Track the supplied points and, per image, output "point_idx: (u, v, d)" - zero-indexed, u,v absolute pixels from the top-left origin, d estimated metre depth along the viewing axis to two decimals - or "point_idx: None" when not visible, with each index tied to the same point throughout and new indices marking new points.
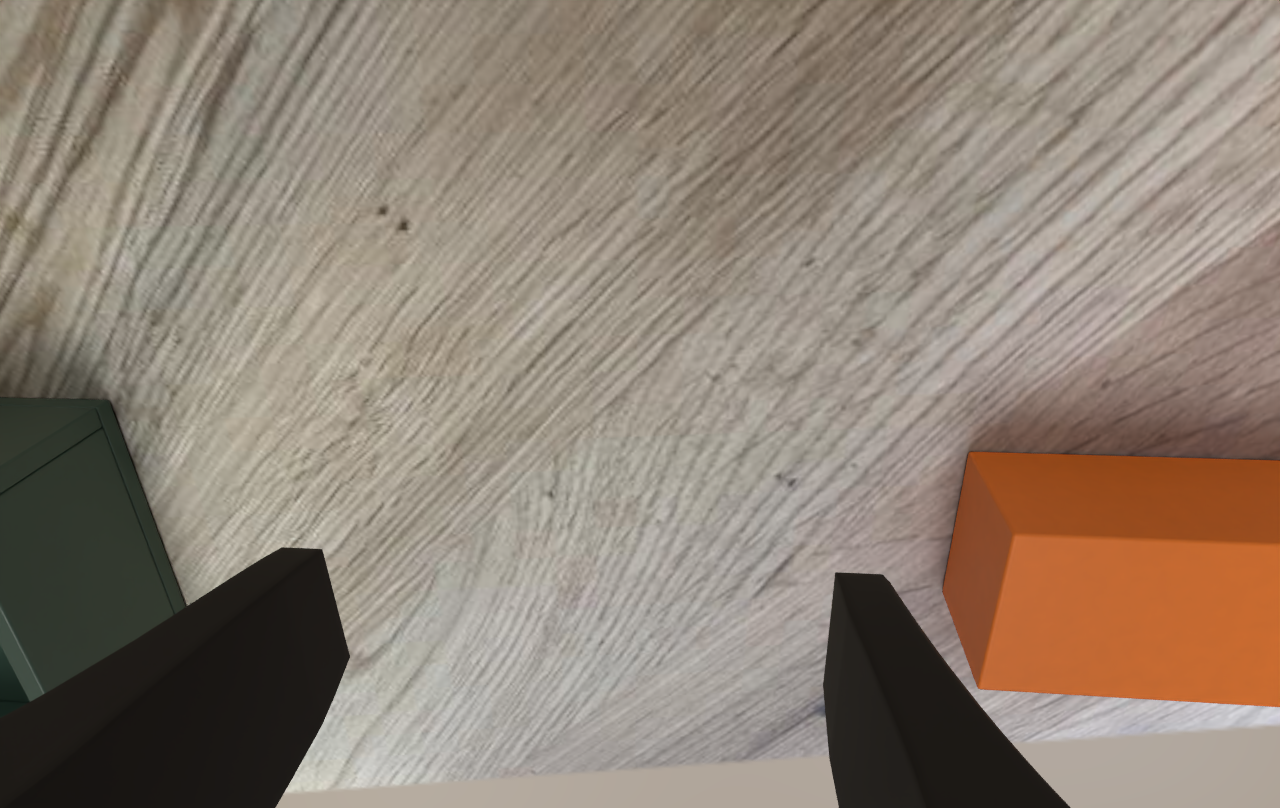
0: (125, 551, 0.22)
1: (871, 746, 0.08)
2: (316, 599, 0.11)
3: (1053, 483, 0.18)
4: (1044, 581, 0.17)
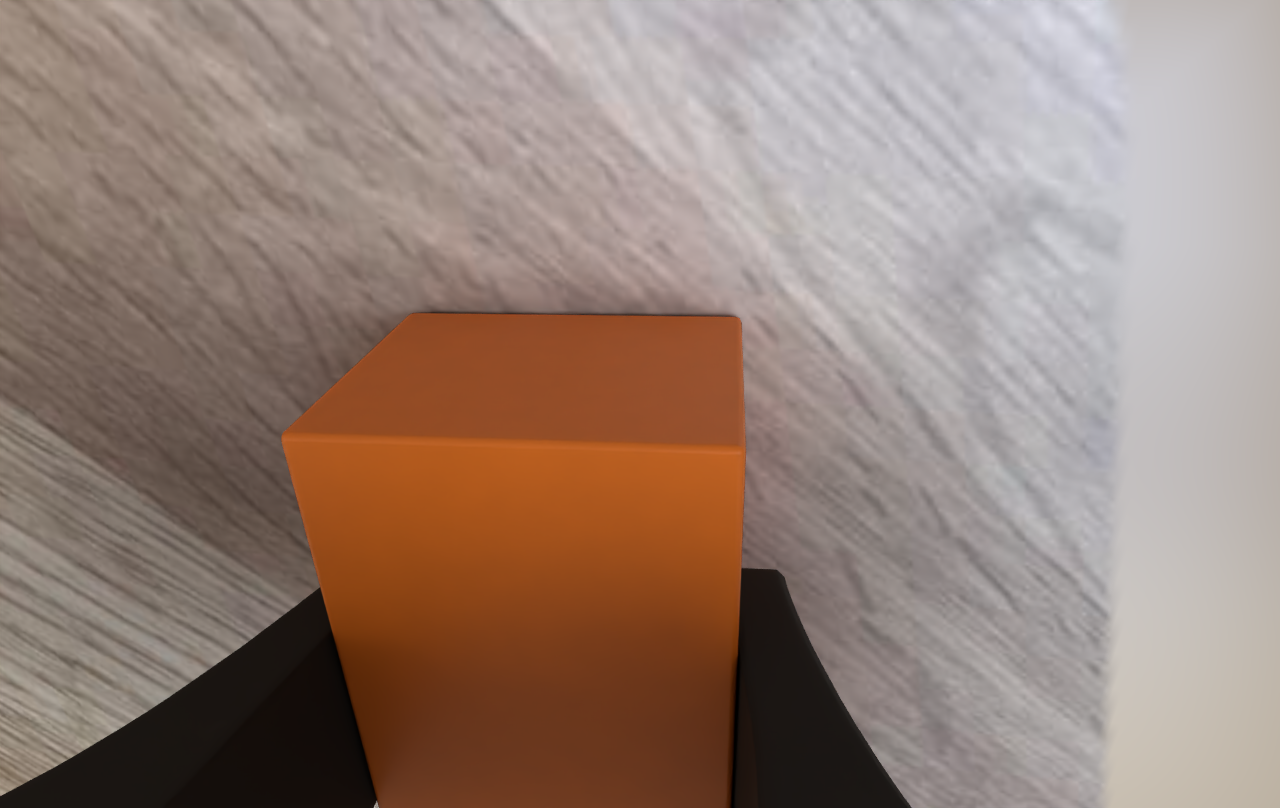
0: None
1: (741, 737, 0.08)
2: None
3: None
4: None
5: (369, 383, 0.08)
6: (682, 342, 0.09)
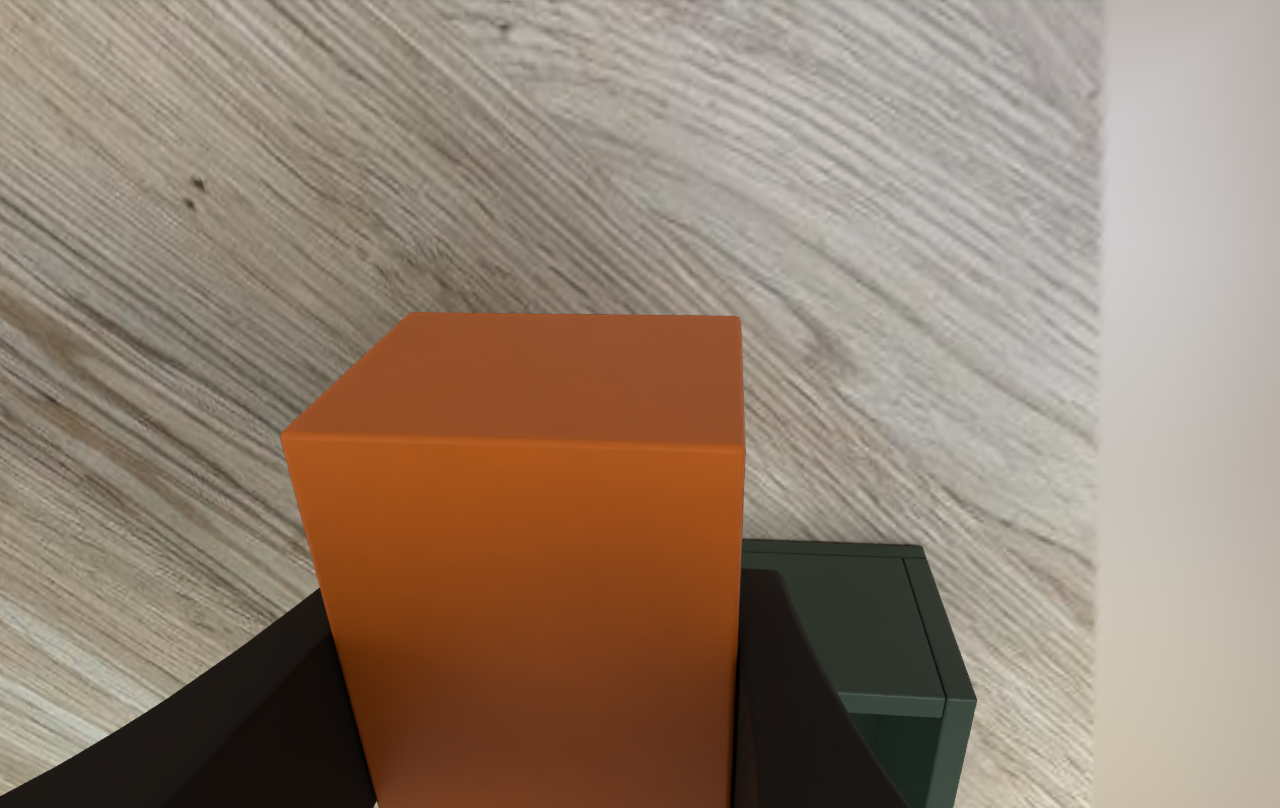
0: None
1: (741, 737, 0.08)
2: None
3: None
4: None
5: (368, 382, 0.08)
6: (681, 341, 0.09)
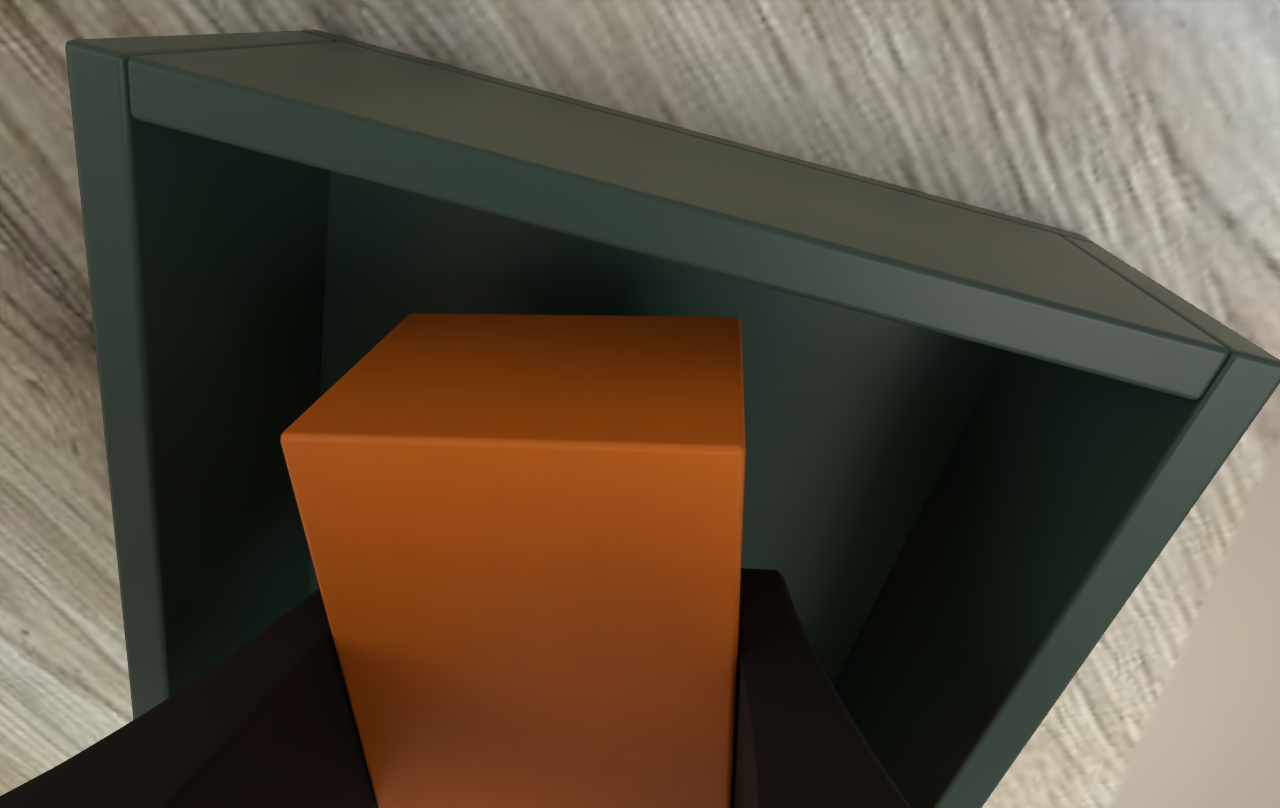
0: (564, 109, 0.11)
1: (741, 737, 0.08)
2: None
3: None
4: None
5: (368, 383, 0.08)
6: (681, 342, 0.09)
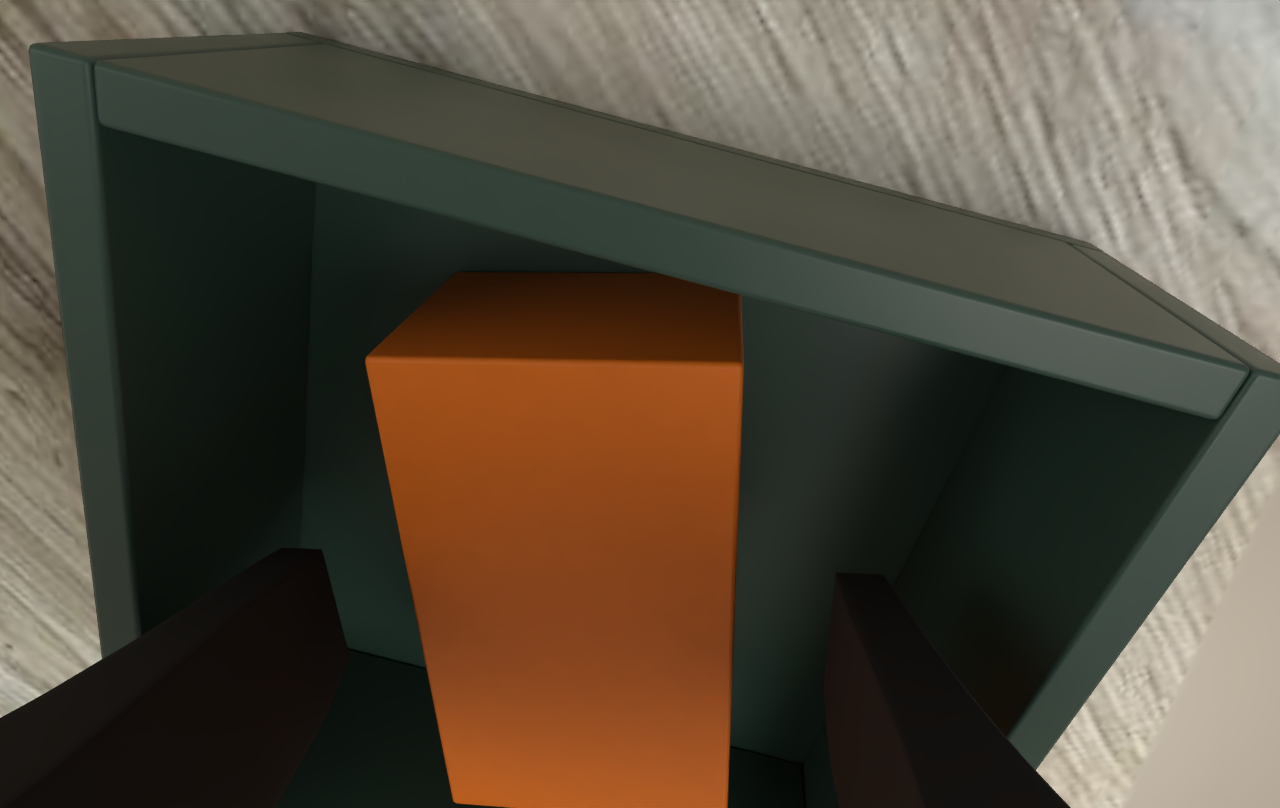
0: (555, 114, 0.10)
1: (871, 746, 0.08)
2: (316, 600, 0.11)
3: None
4: (518, 775, 0.12)
5: (430, 322, 0.10)
6: (689, 291, 0.11)
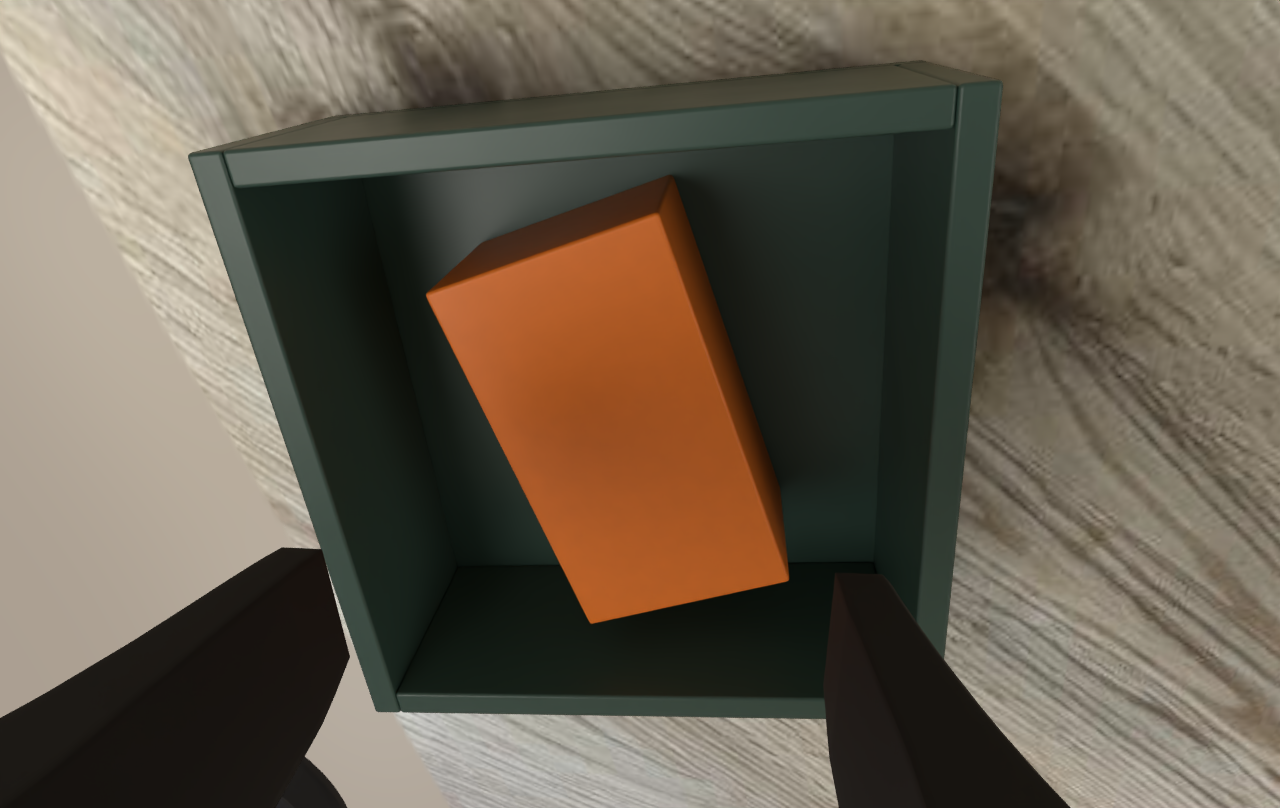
0: None
1: (871, 746, 0.08)
2: (316, 599, 0.11)
3: (693, 261, 0.15)
4: (609, 280, 0.13)
5: None
6: None
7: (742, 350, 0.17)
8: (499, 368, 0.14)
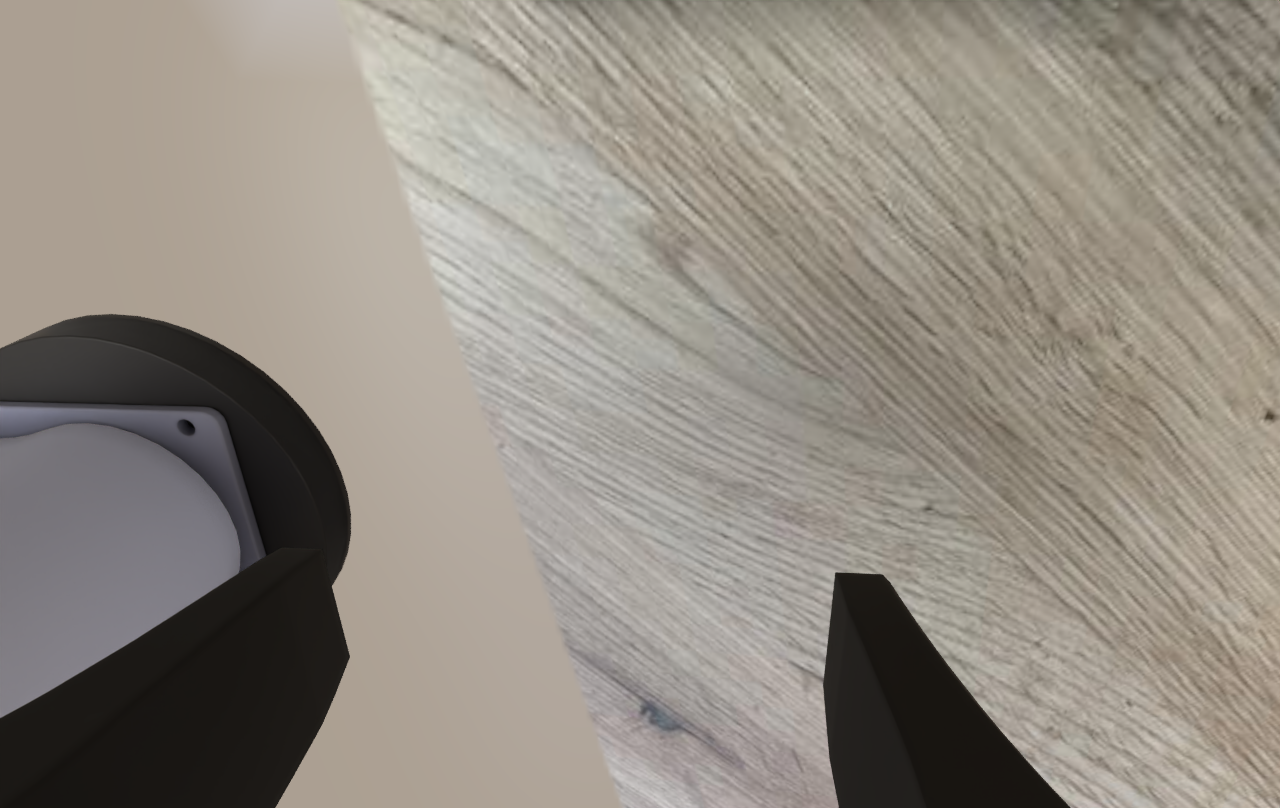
0: None
1: (871, 746, 0.08)
2: (316, 599, 0.11)
3: None
4: None
5: None
6: None
7: None
8: None
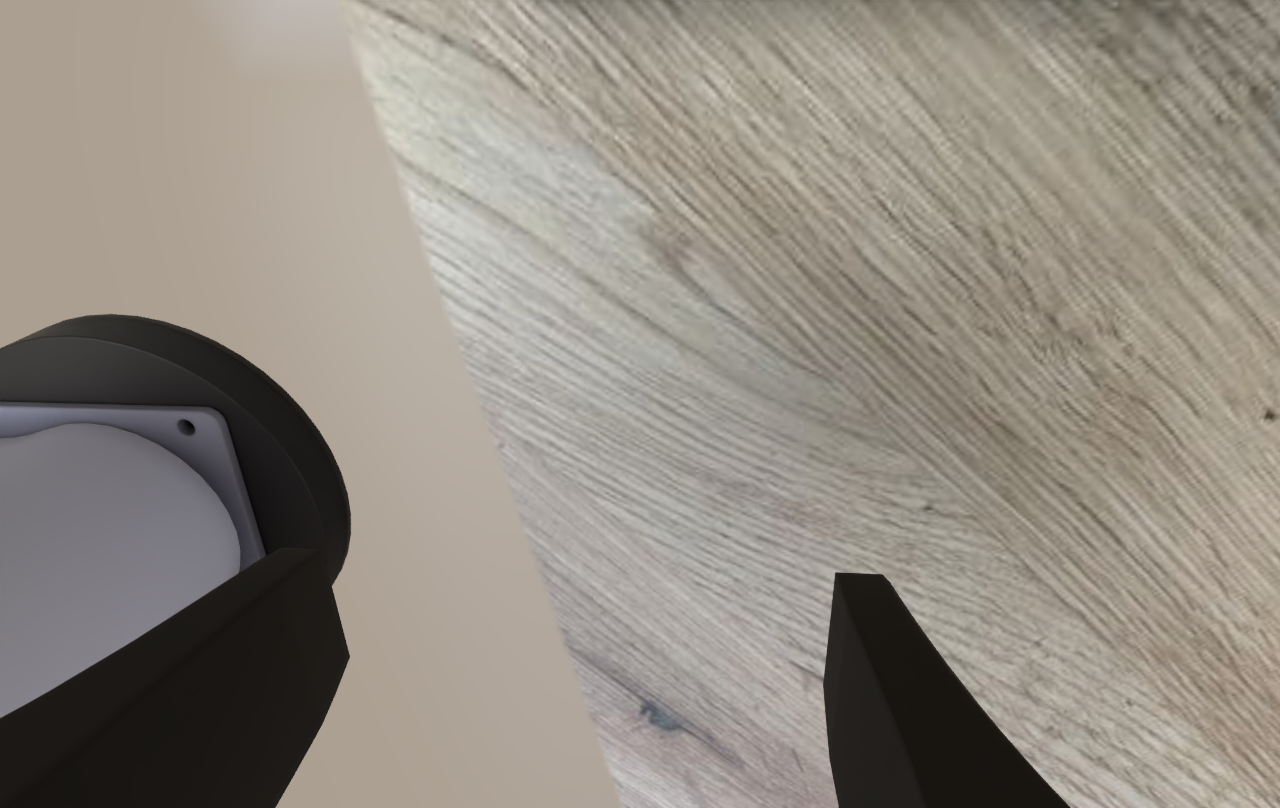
0: None
1: (871, 746, 0.08)
2: (316, 600, 0.11)
3: None
4: None
5: None
6: None
7: None
8: None
